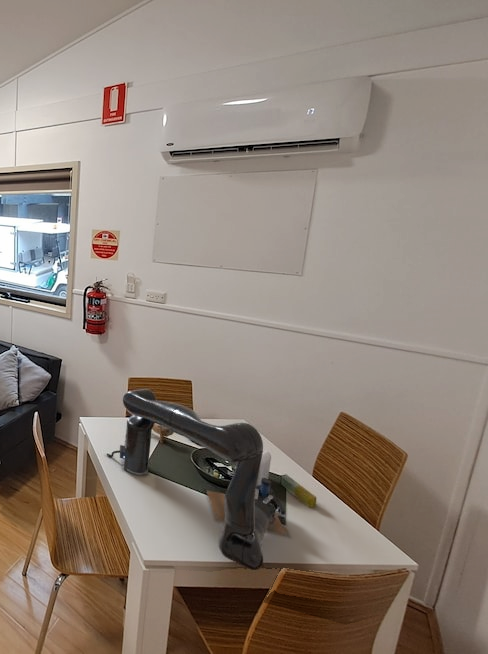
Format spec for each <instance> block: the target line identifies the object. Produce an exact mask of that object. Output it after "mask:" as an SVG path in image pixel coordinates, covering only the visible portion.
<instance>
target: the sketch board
mask: <svg viewBox="0 0 488 654" xmlns="http://www.w3.org/2000/svg"><path fill="white" fill-rule="evenodd" d="M205 491H206V494H207V496H208V499H209V502H210V505H211V507H212V510H213V513H214V516H215V518H216V520H218V521H221V522H224V521H225V495H226V493H223V492H219V491H213V490H208V489H206V490H205ZM274 518H275V520H274V523H271V524H269V527H268V529H267V531H268V532H271V533H275V534H280V535H284V536H288V535H289V534H288V532H287V530H286V529H285V527H284V525H283V523H282V522H281V520H280V517H279V516H278V515H275V516H274ZM272 521H273V517H272V518H271V521H270V522H272ZM267 531H266V532H267Z"/></svg>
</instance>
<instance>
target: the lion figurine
mask: <svg viewBox="0 0 488 654" xmlns="http://www.w3.org/2000/svg"><path fill="white" fill-rule="evenodd" d="M152 432H154V433H156V434H157V435H159V442H160V443H161V444H163V443H164V441H165V440H166V439H165V438H167V437H170V436H172V435H173V434H174V433H175V432H172V431H170V430H168V429H167V428H165V427H163V426H160V425H158V424H156V423H154V426H153V428H152ZM164 437H165V438H164Z"/></svg>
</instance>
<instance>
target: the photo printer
mask: <svg viewBox="0 0 488 654" xmlns="http://www.w3.org/2000/svg"><path fill="white" fill-rule="evenodd" d="M271 461H272V455H271V453H270V452H269V451H268V450H266V449H263V454H262V459H261V464H260V469H259V475H258V480H257V485H259V486H260V485H261V480H262V478H267V479H269V477H270V476H269V475H270V468H271ZM256 487H257V486H256Z"/></svg>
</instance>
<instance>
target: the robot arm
mask: <svg viewBox="0 0 488 654" xmlns="http://www.w3.org/2000/svg"><path fill="white" fill-rule="evenodd" d="M122 403H123V407H124V408H125V410H126V411H127V412H128V413H129V414H130V415H131V416H129V417H128V418H127V420H126V426H125V427H126V428H125V439H124V442H123V443H124V445H122V444H119V450H114V451H112V452H111V454H110V453H106V456H107V457H109V458H112V457H114V454H119V459H122V466H123V471H126V472H128V473H130V474H132V475H135V476H145V475H147V474H148V473H149V465H150V461H151V460H150V452H151V443H152V442H151V441H152V432H153V429H152V428H153V426H154V423H155V424H157V425H160V426H163V427H165V428H167V429H168V430H170V431H172V432H174V433H175V434H176V435H179V436H181V437H184V438H186V439H188V440H190V441H192V442H194V443H195V444H197V445H199V444H200V445H199V446H202V447H204V448H205V449H207V450H208V451H209V452H211V453H213V454H215V455H216V456H218V457H220V458H222V459H223V460H226V461H228V462H233V463H235V468H234V471H233V474H232V477H231V479H230V480H229V481H230V482H229V484H228V486H227V488H226V491H225V494H226V495H225V521H223V526H222V530H221V532H220V533H219V537H218V540H217V547H218V550H219V552H220V553H221V555H222V556H223V557H225V558H226V559H228V560H230V561H233V562H235V563H237V564H239V565H241V566H243V567H245V568H247V569H248V570H253V571H258V570H260V569H261V568H262V567H263V565H264V553H263V547H262V541H263V538H264V537H265V534H266V533H267V529H268V527H269V523H270V521H271V518H272V517H274V516H275V515H277V516H278V518H279V519H281V520H285V517H286V510H285V508H284V506H283V505H282V503H281V501H280V500H279V498H275V495H276V493H275V492H274V489H272V488H270V491H269V494H268V497H266V498H265V499H262V498H260V497H259V496H260V489H261V485H260V486H259V485H257V480H258V475H259V469H260V464H261V459H262V454H263V450H264V442H263V438H262V436H261V433H260V431H258V429H257V428H256V427H255V426H253V425H251V424H250V423H247V422H236V423H235V422H234V423H231V424H225V425H216V424H215V425H214V424H211V423H208V422H206V421H204V420H202V419H201V417H200V416H199V414H198V413H196V412H195V410H193V409H192V408H190V407H187V406H185V405H182V404H179V403H176V402H172V401H165V400H164V401H163V400H157V397H156V395H155V393H154V392H153V390H151V389H149V388H142V389H132V390H129V391H126V392H125V394H123V397H122ZM256 486H257V487H256Z"/></svg>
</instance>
